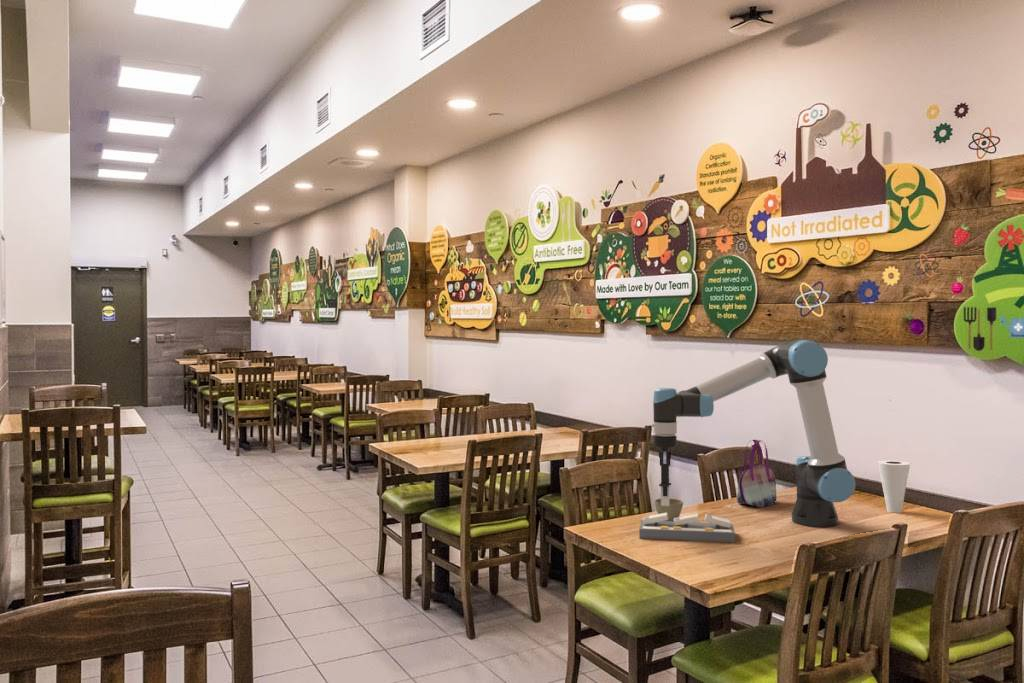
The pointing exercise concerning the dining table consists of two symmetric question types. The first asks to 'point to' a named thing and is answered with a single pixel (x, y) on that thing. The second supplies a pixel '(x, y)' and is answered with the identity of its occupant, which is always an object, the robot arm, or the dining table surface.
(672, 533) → the switch unit
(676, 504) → the flower pot
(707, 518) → the rocker
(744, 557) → the dining table surface
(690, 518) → the rocker
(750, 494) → the handbag
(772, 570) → the dining table surface
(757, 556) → the dining table surface
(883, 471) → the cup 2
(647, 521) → the rocker
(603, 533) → the dining table surface
